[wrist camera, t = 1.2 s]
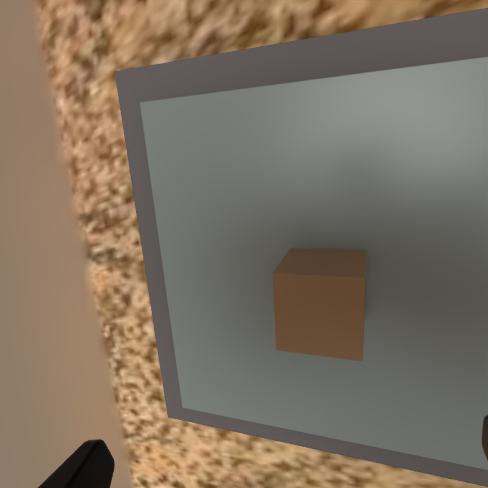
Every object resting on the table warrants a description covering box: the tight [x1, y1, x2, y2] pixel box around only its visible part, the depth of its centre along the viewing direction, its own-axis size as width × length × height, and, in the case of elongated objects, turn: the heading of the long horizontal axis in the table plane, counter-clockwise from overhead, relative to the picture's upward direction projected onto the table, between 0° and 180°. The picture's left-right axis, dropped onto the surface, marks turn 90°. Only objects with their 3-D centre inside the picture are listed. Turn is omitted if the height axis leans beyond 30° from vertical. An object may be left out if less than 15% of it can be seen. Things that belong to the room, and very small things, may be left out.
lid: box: [140, 57, 488, 470], centre depth 18 cm, size 21×21×5 cm
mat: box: [115, 8, 488, 487], centre depth 20 cm, size 25×25×1 cm
